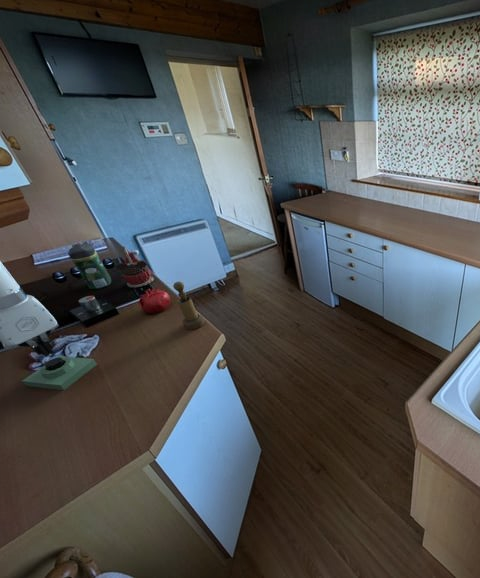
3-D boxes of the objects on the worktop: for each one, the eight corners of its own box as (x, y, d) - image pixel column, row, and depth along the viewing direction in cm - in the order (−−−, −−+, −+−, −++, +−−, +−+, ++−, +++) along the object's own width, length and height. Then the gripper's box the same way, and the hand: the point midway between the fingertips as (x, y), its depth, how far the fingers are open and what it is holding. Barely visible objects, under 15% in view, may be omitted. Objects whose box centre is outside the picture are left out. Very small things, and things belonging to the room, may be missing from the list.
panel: (73, 317, 111) (69, 310, 109) (105, 304, 118) (101, 297, 116) (86, 327, 105) (82, 320, 104) (119, 313, 113) (115, 307, 111)
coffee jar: (90, 282, 132) (67, 244, 122) (112, 277, 136) (92, 240, 126) (88, 292, 125) (63, 252, 116) (111, 286, 129) (90, 248, 120)
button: (44, 370, 84) (40, 365, 83) (57, 361, 87) (54, 356, 86) (55, 371, 83) (52, 367, 82) (68, 362, 86) (65, 357, 85)
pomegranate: (176, 299, 121) (168, 280, 116) (168, 313, 113) (159, 293, 108) (148, 303, 119) (139, 283, 114) (138, 317, 111) (127, 297, 106)
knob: (87, 313, 107) (80, 303, 105) (82, 310, 109) (75, 299, 107) (102, 307, 111) (96, 297, 108) (97, 304, 113) (90, 293, 110)
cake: (123, 290, 127) (103, 252, 117) (130, 280, 134) (111, 244, 125) (153, 286, 130) (135, 248, 121) (157, 276, 138) (141, 240, 128)
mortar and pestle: (180, 327, 106) (161, 285, 97) (195, 317, 111) (179, 276, 102) (193, 331, 104) (175, 289, 95) (208, 321, 109) (193, 280, 100)
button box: (26, 386, 83) (17, 376, 81) (62, 360, 92) (55, 351, 90) (64, 390, 82) (56, 380, 80) (97, 364, 91) (91, 354, 89)
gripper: (-35, 320, 66) (18, 376, 75) (49, 287, 78) (86, 340, 87) (-51, 312, 68) (3, 368, 78) (33, 282, 80) (71, 334, 89)
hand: (47, 353), depth 82 cm, fingers closed
